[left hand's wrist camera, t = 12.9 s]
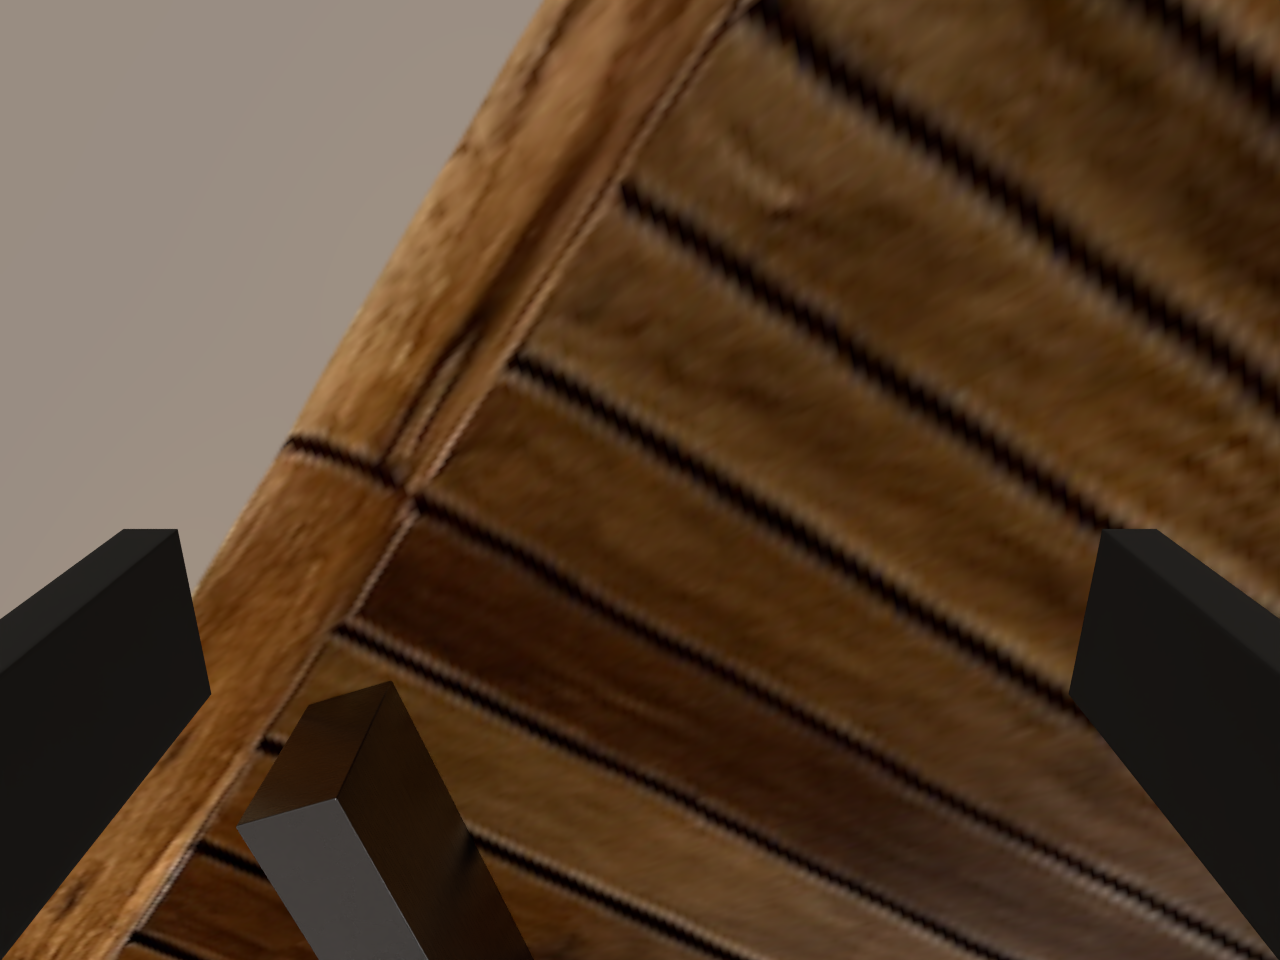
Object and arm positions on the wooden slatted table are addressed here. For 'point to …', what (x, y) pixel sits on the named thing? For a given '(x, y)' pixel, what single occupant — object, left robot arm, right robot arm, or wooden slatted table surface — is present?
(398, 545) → the wooden slatted table surface
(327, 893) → the bar
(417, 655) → the wooden slatted table surface
